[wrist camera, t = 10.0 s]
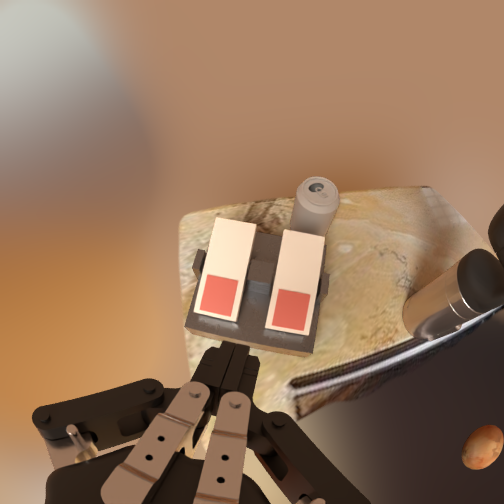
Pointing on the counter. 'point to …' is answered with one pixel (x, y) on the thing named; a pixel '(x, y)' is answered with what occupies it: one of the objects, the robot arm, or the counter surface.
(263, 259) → the switch box
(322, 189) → the can
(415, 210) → the counter surface
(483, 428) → the onion
